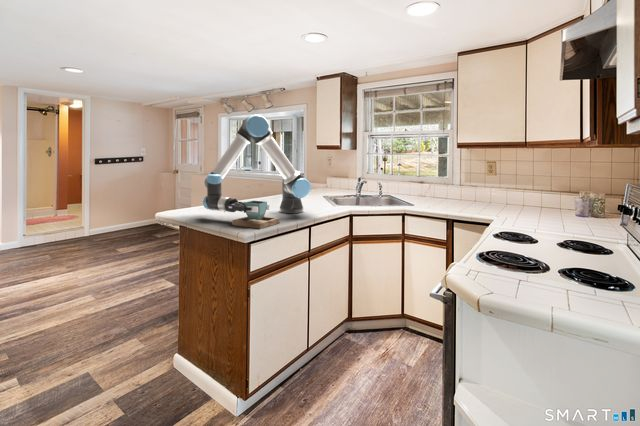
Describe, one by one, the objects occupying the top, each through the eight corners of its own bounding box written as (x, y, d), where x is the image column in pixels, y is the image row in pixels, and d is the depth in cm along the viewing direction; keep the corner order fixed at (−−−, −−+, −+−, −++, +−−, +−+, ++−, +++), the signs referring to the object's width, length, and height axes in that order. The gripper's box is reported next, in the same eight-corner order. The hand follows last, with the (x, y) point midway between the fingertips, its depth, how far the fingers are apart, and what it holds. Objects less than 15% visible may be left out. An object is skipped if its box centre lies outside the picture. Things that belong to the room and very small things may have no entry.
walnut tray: (253, 219, 192) (253, 215, 192) (279, 223, 185) (279, 218, 184) (232, 224, 177) (232, 220, 177) (260, 228, 170) (260, 223, 169)
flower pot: (267, 218, 184) (267, 201, 182) (260, 221, 175) (260, 203, 174) (252, 217, 186) (252, 200, 184) (244, 220, 178) (244, 202, 176)
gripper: (241, 209, 198) (275, 212, 188) (214, 214, 178) (250, 219, 169) (241, 195, 197) (275, 198, 187) (213, 199, 177) (250, 203, 167)
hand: (263, 208), depth 178 cm, fingers closed on flower pot, 9 cm apart
